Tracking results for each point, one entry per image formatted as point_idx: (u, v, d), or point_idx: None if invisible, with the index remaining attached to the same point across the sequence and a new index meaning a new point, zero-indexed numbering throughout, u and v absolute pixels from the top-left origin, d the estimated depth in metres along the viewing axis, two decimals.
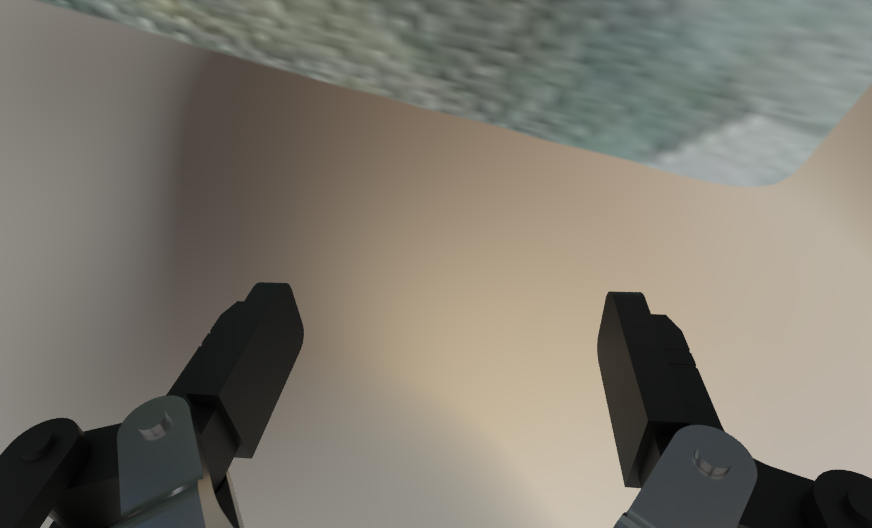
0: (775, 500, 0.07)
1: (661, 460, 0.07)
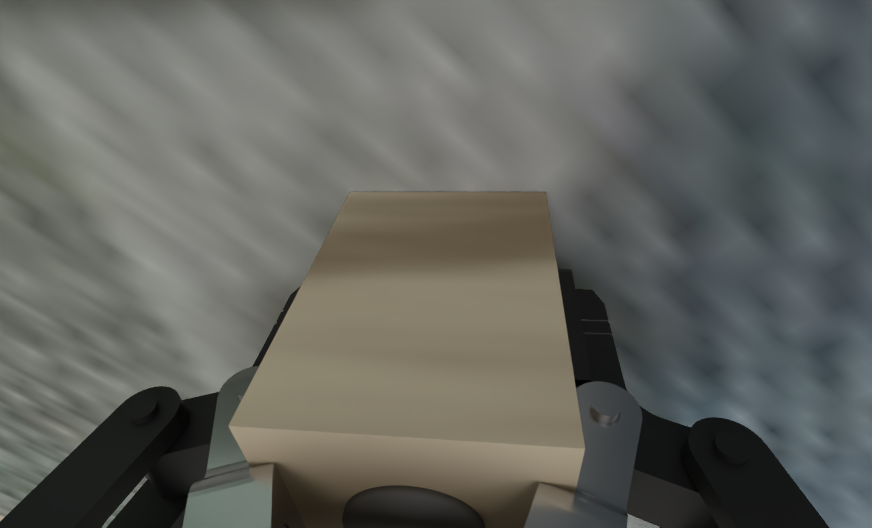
0: (660, 446, 0.08)
1: None
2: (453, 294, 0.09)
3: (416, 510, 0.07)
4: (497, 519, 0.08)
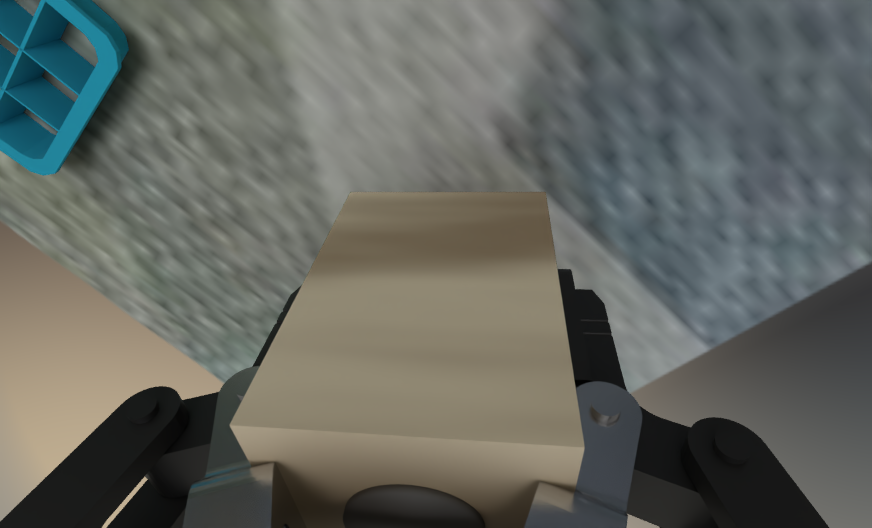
0: (660, 446, 0.08)
1: None
2: (453, 294, 0.09)
3: (417, 509, 0.07)
4: (497, 518, 0.08)
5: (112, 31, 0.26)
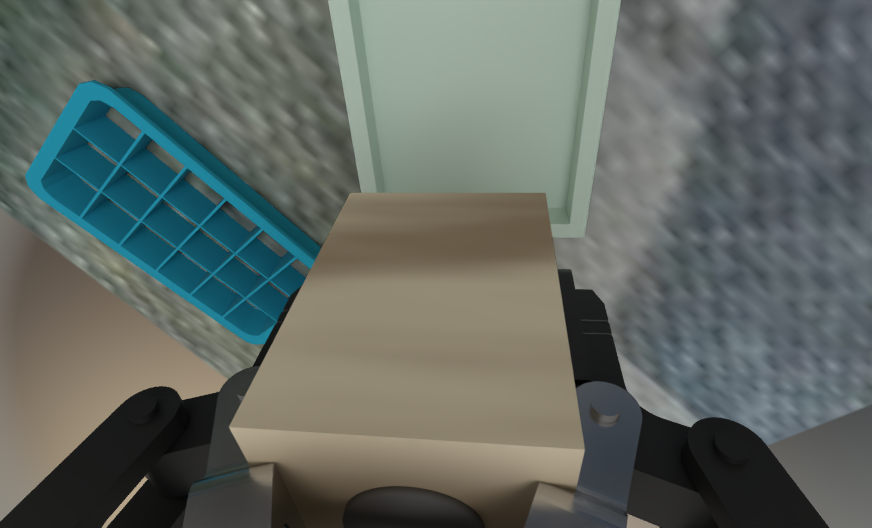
0: (660, 446, 0.08)
1: None
2: (453, 295, 0.09)
3: (416, 511, 0.07)
4: (497, 520, 0.08)
5: None
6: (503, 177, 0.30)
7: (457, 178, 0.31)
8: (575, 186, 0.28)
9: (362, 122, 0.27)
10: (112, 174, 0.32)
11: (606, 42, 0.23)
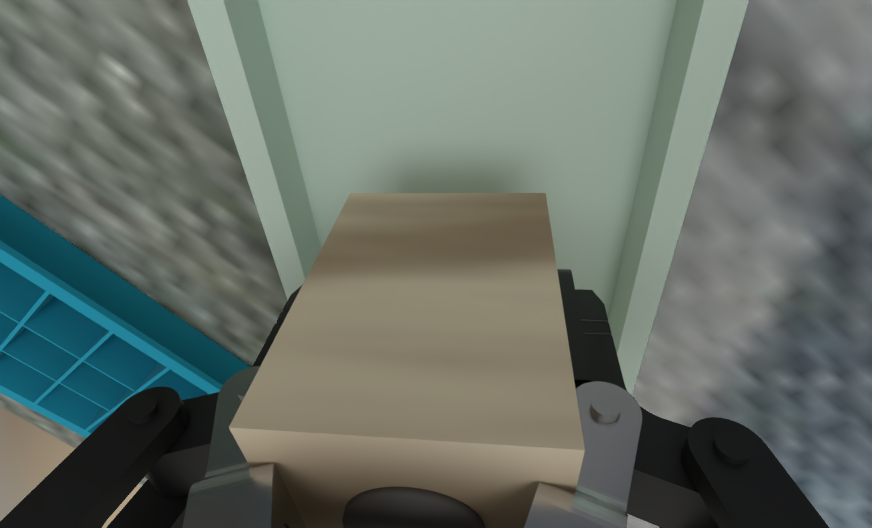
0: (660, 446, 0.08)
1: None
2: (453, 296, 0.09)
3: (416, 511, 0.07)
4: (497, 520, 0.08)
5: None
6: None
7: None
8: (621, 339, 0.18)
9: (289, 247, 0.17)
10: None
11: (692, 144, 0.13)
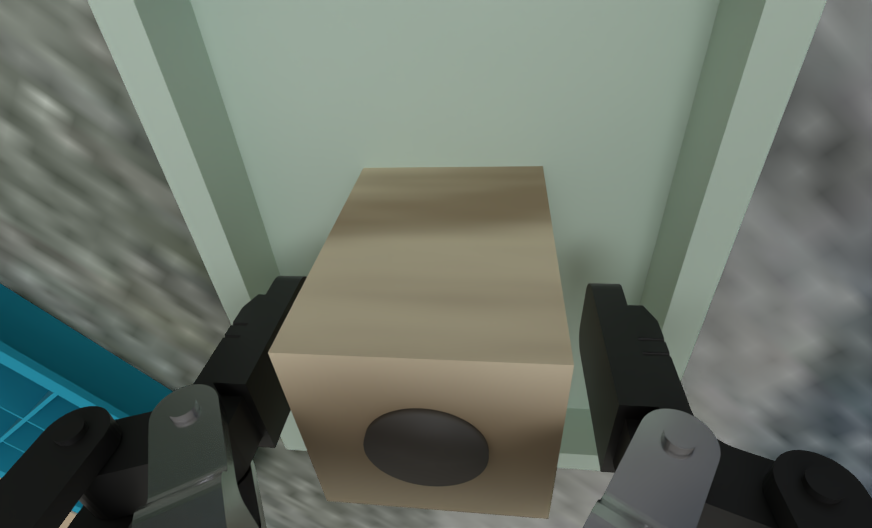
0: (738, 480, 0.08)
1: (630, 445, 0.08)
2: (460, 250, 0.10)
3: (429, 431, 0.09)
4: (500, 440, 0.09)
5: None
6: None
7: None
8: None
9: None
10: None
11: (731, 204, 0.11)
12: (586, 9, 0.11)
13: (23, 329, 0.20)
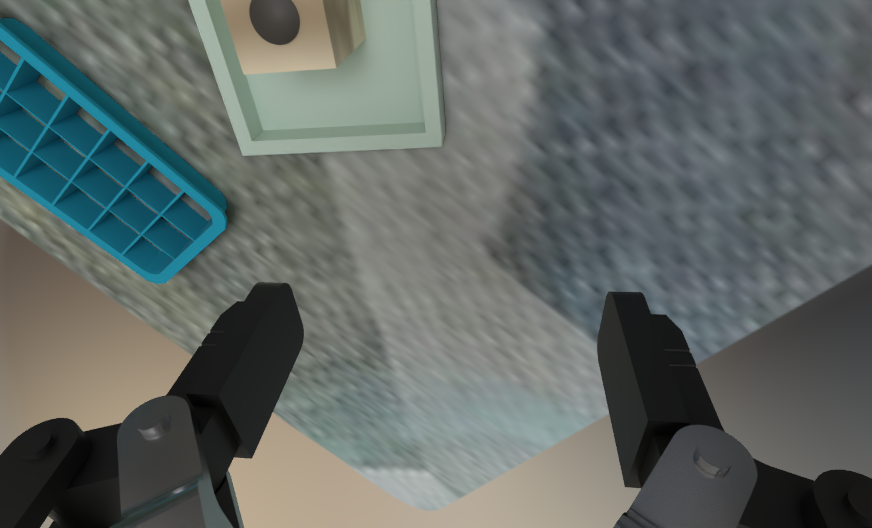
0: (775, 500, 0.07)
1: (661, 460, 0.07)
2: None
3: (272, 0, 0.22)
4: (301, 7, 0.22)
5: (219, 200, 0.38)
6: (364, 92, 0.32)
7: (322, 95, 0.32)
8: (422, 91, 0.29)
9: (212, 34, 0.28)
10: None
11: None
12: None
13: (89, 93, 0.33)
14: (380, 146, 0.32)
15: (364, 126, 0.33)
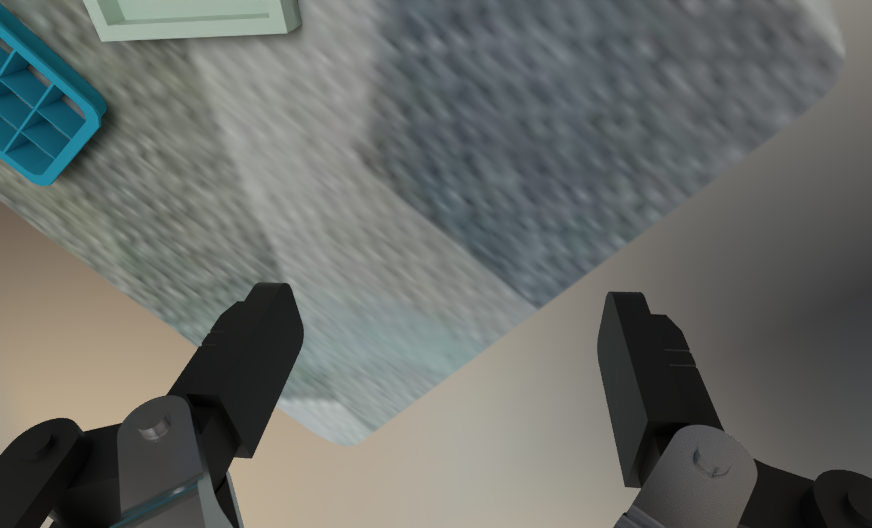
0: (775, 500, 0.07)
1: (661, 460, 0.07)
2: None
3: None
4: None
5: (96, 100, 0.39)
6: None
7: None
8: None
9: None
10: None
11: None
12: None
13: None
14: (229, 32, 0.33)
15: (218, 16, 0.34)
